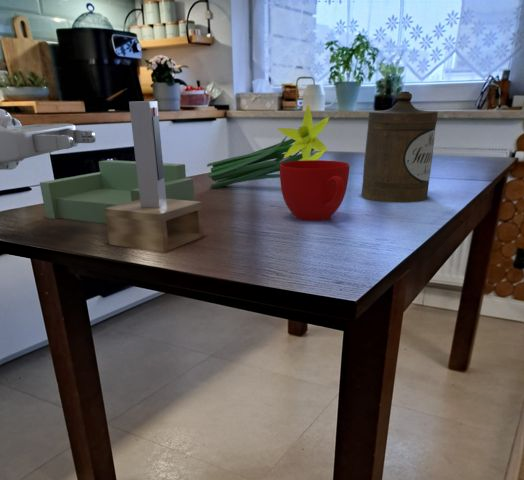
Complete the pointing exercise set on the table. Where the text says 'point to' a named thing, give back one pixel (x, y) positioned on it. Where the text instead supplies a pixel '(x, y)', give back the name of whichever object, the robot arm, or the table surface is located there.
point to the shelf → (154, 224)
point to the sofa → (107, 190)
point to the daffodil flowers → (271, 155)
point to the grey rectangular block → (148, 153)
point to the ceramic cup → (313, 187)
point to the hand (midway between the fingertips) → (82, 139)
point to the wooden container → (399, 152)
